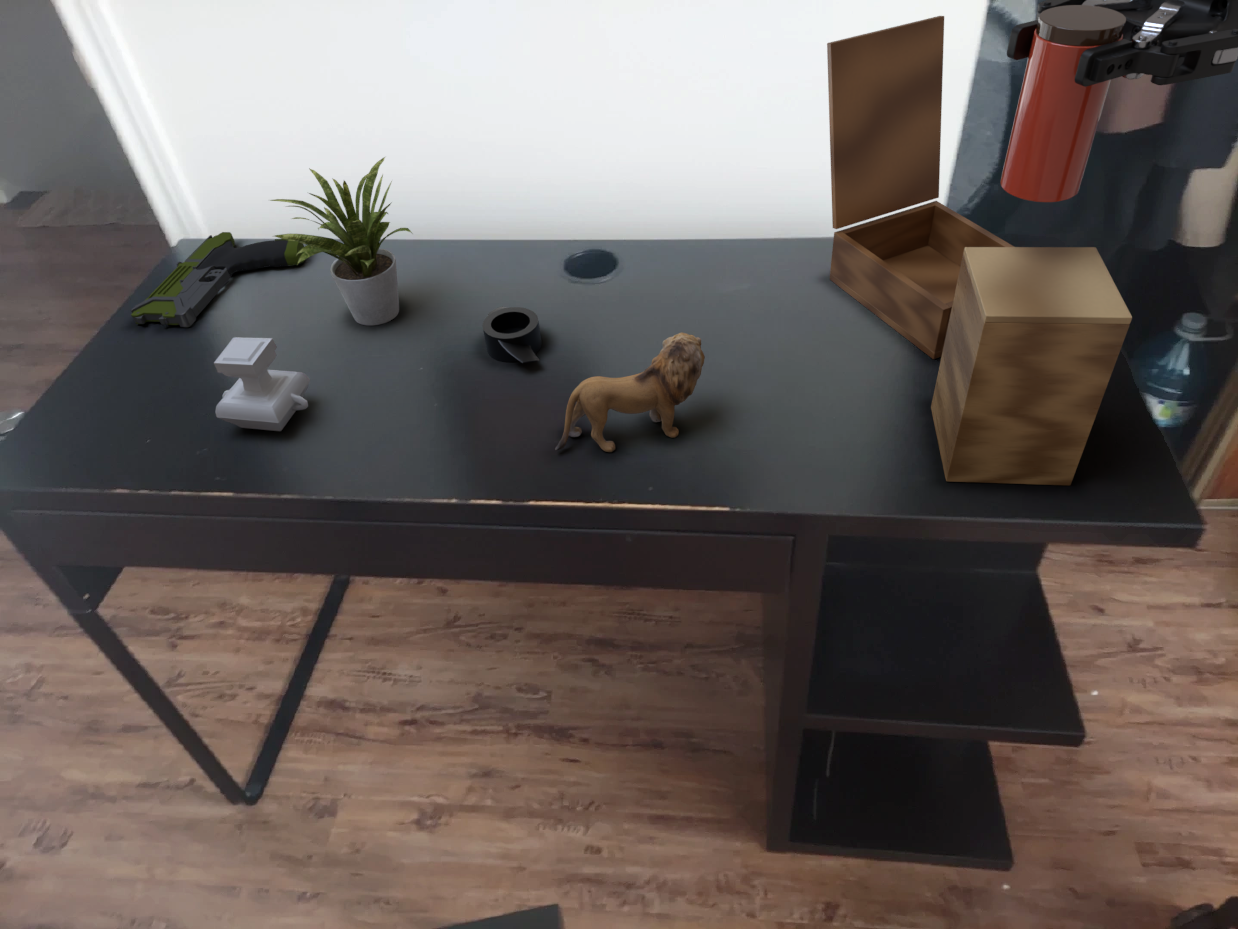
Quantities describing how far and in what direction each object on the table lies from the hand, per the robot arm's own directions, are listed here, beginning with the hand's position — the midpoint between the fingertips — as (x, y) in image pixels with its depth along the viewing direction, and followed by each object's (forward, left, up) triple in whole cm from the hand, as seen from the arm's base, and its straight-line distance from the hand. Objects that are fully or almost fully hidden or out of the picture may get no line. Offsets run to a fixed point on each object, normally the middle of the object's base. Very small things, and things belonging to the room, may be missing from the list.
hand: (1046, 55), depth 62 cm
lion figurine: (+20, +22, -32) cm, 44 cm away
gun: (+76, +37, -32) cm, 90 cm away
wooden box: (+13, -15, -32) cm, 37 cm away
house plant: (+58, +27, -32) cm, 71 cm away
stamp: (+48, +45, -32) cm, 73 cm away
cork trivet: (-4, +1, -16) cm, 16 cm away
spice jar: (-1, -2, -10) cm, 10 cm away
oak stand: (-4, +1, -32) cm, 32 cm away
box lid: (+23, -18, -17) cm, 33 cm away
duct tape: (+40, +21, -32) cm, 55 cm away
